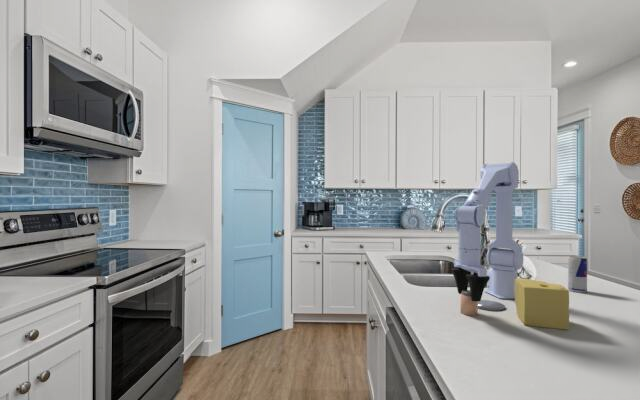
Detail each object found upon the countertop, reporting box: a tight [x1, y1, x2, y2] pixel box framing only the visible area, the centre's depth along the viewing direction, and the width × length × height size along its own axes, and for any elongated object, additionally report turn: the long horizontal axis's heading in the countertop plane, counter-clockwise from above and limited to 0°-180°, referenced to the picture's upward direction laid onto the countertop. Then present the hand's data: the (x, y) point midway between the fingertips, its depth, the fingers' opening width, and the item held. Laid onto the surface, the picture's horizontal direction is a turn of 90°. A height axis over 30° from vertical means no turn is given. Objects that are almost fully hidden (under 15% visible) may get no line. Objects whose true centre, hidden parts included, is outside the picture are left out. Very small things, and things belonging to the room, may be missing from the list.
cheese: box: [514, 278, 570, 330], centre depth 92 cm, size 10×11×10 cm
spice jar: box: [460, 289, 479, 317], centre depth 98 cm, size 4×4×6 cm
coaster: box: [478, 299, 506, 312], centre depth 105 cm, size 9×9×1 cm
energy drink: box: [567, 255, 588, 294], centre depth 124 cm, size 5×5×12 cm
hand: (468, 297), depth 98 cm, fingers open, 7 cm apart
